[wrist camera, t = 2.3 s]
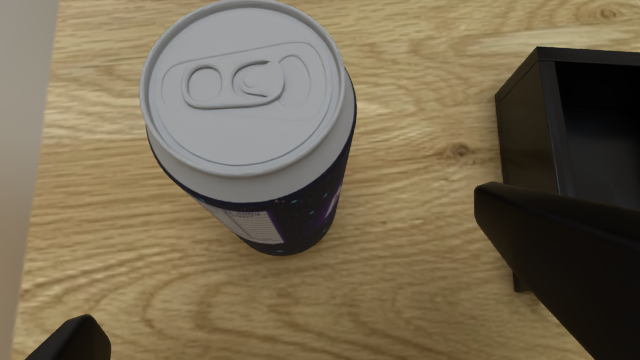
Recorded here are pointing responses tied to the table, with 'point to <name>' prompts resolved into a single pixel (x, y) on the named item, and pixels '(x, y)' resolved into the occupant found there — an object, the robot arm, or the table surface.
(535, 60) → the black open tray
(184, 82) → the beverage can
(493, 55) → the table surface
